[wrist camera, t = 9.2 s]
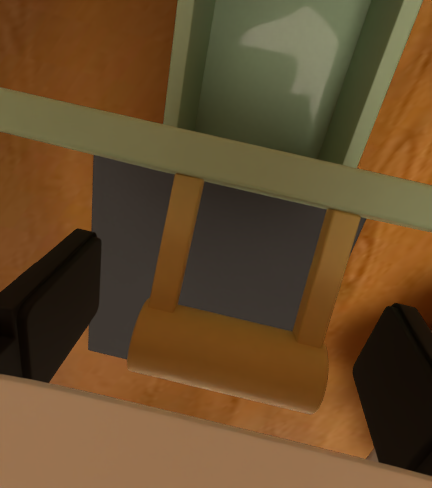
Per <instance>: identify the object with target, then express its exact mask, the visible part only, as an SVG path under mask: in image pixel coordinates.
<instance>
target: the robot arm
mask: <svg viewBox="0 0 432 488" xmlns="http://www.w3.org/2000/svg"><path fill="white" fill-rule="evenodd" d="M101 246H102V241H101V239H100V238H97V235H96V233H95V232H91V231H87V230H82V229H76V230H74V231H73V232H72V233H71V234H70V235H69V236H67V237H66V238H65V239H64V240H63V241H61V242H60V243H59V244H58V245H57V246H56V247H54V248H53V249H52V250H51V251H50V252H48V253H47V254H46V255H45V256H44V257H43V258H41V259H40V260H39V261H38V262H36V263H35V264H33V265H32V266H31V267H30V268H29V269H27V270H26V271H25V272H24V273H23V274H21V275H20V276H19V277H18V278H17V279H16V280H14V281H13V282H12V283H11V284H10V285H8V286H7V287H6V288H5V289H4V290H3V291H1V292H0V488H432V332H431V330H430V329H429V327H428V326H427V324H426V323H425V321H424V319H423V318H422V316H421V315H420V313H419V312H418V310H417V309H416V308H414V307H411V306H407V305H402V304H398V303H394V304H393V305H392V306H387V307H386V308H385V310H384V311H383V313H382V315H381V317H380V319H379V320H378V322H377V324H376V326H375V328H374V329H373V331H372V333H371V335H370V337H369V338H368V340H367V342H366V344H365V346H364V347H363V349H362V351H361V353H360V355H359V356H358V358H357V360H356V362H355V364H354V366H353V377H354V381H355V384H356V387H357V391H358V394H359V397H360V401H361V404H362V408H363V411H364V414H365V418H366V421H367V424H368V428H369V431H370V435H371V438H372V441H373V445H374V448H375V451H376V455H377V458H378V462H375V461H371V460H367V459H363V458H359V457H355V456H351V455H347V454H343V453H339V452H335V451H331V450H327V449H323V448H319V447H315V446H311V445H307V444H303V443H299V442H295V441H291V440H287V439H283V438H279V437H274V436H270V435H266V434H262V433H258V432H254V431H250V430H246V429H242V428H238V427H233V426H229V425H225V424H221V423H217V422H213V421H209V420H205V419H200V418H196V417H192V416H188V415H184V414H180V413H175V412H171V411H167V410H163V409H159V408H154V407H150V406H146V405H142V404H138V403H133V402H129V401H125V400H121V399H116V398H112V397H108V396H104V395H100V394H95V393H91V392H87V391H82V390H77V389H73V388H68V387H64V386H59V385H55V384H50V383H49V382H50V380H51V379H52V377H53V376H54V374H55V373H56V371H57V370H58V369H59V367H60V366H61V364H62V363H63V361H64V360H65V358H66V357H67V355H68V354H69V353H70V351H71V350H72V348H73V347H74V345H75V344H76V342H77V341H78V339H79V338H80V336H81V335H82V334H83V332H84V331H85V329H86V328H87V326H88V325H89V323H90V322H91V320H92V319H93V318H94V316H95V315H96V313H97V311H98V308H99V298H100V272H101Z"/></svg>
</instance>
